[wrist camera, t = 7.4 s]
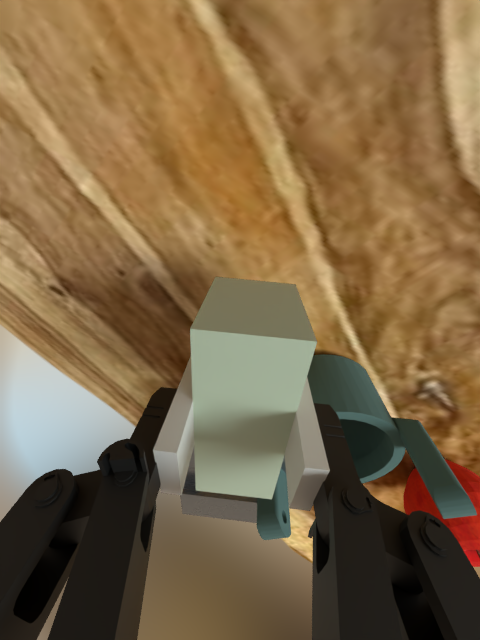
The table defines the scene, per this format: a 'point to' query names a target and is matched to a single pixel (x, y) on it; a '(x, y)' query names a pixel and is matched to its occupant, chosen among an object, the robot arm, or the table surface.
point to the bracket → (368, 444)
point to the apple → (471, 531)
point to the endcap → (217, 500)
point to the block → (247, 383)
